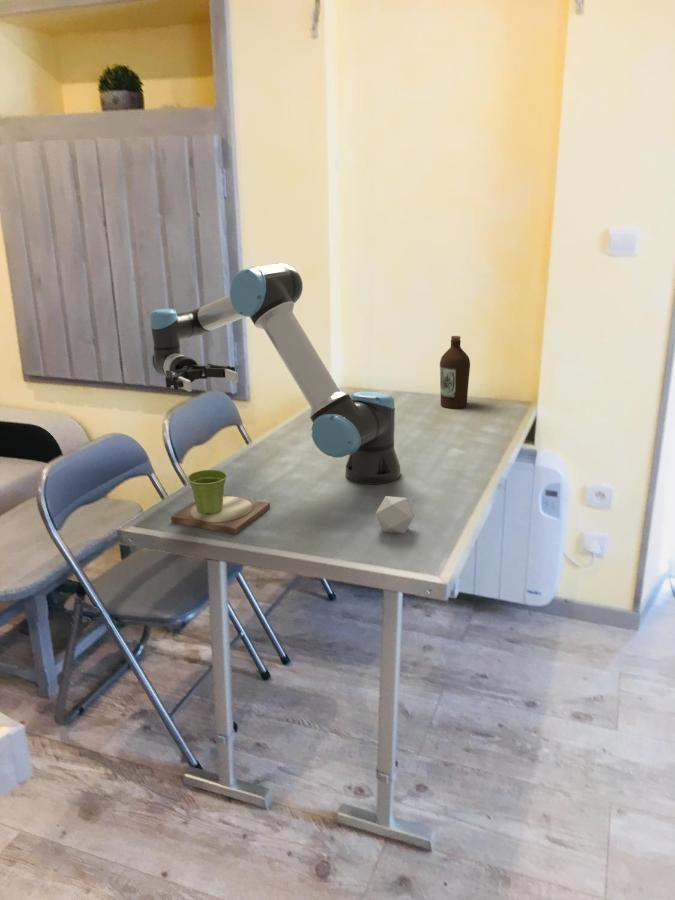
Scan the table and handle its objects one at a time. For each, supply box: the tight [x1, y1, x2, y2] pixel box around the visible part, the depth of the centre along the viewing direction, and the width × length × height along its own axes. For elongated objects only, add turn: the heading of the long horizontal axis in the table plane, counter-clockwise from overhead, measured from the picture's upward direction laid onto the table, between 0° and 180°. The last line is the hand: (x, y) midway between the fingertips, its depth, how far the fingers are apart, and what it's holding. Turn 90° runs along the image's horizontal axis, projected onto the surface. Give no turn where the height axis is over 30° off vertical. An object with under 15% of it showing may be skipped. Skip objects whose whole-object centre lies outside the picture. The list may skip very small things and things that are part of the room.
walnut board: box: [171, 494, 271, 535], centre depth 182 cm, size 18×16×2 cm
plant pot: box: [186, 469, 228, 514], centre depth 180 cm, size 9×9×9 cm
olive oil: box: [439, 335, 471, 410], centre depth 266 cm, size 11×11×25 cm
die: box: [375, 495, 415, 535], centre depth 172 cm, size 8×9×10 cm
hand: (214, 382), depth 196 cm, fingers open, 13 cm apart
